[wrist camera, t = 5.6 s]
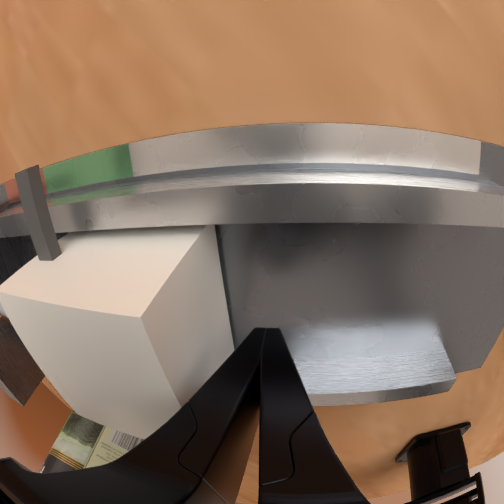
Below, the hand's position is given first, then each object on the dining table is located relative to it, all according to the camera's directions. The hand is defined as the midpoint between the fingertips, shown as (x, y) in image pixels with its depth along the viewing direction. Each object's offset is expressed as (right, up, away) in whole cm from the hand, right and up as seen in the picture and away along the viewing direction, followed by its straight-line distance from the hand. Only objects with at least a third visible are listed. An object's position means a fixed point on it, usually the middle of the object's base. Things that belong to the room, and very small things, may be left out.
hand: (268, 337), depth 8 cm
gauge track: (-1, +2, +3) cm, 4 cm away
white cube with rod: (-9, +2, +3) cm, 10 cm away
